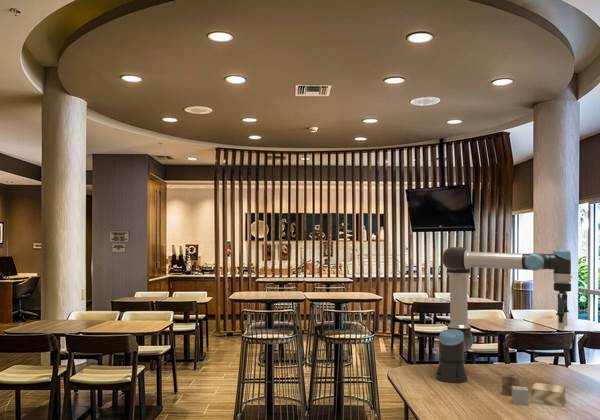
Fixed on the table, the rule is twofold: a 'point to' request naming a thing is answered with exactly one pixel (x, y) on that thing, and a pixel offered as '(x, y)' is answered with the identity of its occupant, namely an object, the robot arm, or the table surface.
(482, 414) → the table surface
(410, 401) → the table surface
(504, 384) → the walnut block
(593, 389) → the table surface
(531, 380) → the table surface
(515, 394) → the slate cube
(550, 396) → the birch block
